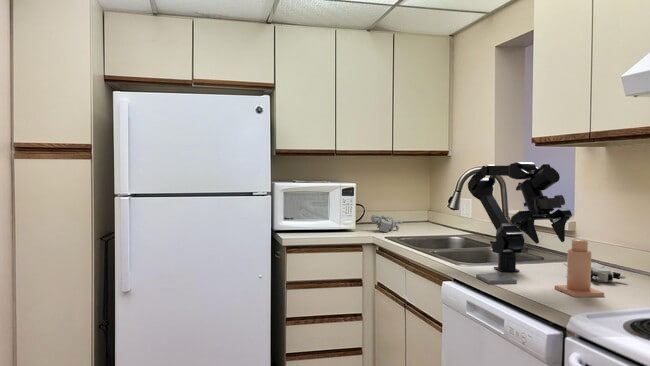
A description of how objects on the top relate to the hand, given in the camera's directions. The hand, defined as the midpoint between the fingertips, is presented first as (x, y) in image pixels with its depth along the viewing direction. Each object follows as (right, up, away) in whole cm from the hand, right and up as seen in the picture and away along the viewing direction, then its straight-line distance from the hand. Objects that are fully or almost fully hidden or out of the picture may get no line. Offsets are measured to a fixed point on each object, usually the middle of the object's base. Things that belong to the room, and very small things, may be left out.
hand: (550, 242), depth 143 cm
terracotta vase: (+4, -12, -9) cm, 16 cm away
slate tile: (-15, -13, +5) cm, 20 cm away
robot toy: (+18, -13, +9) cm, 24 cm away
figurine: (-34, -10, +120) cm, 126 cm away
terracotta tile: (+4, -13, -9) cm, 17 cm away
